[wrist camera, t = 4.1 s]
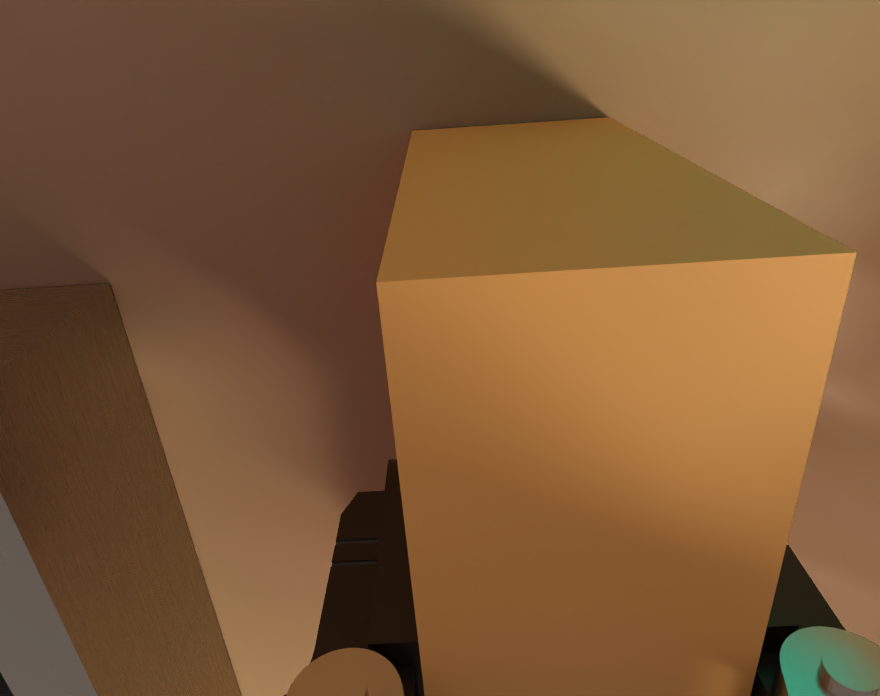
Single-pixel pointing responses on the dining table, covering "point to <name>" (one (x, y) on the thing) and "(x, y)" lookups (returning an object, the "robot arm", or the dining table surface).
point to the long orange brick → (597, 408)
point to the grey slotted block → (92, 516)
